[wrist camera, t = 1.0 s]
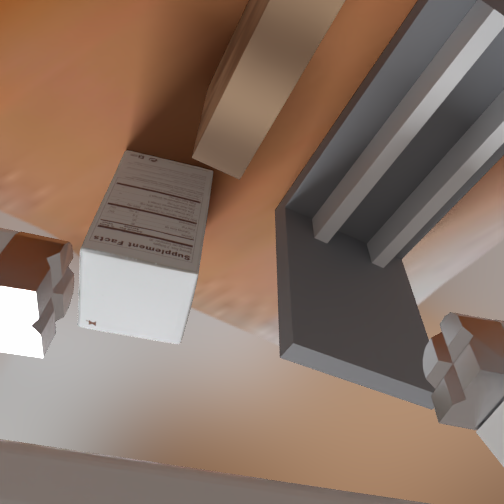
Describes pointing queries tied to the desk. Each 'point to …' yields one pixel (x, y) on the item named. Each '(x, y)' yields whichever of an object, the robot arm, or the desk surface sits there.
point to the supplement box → (145, 249)
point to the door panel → (258, 77)
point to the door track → (389, 196)
